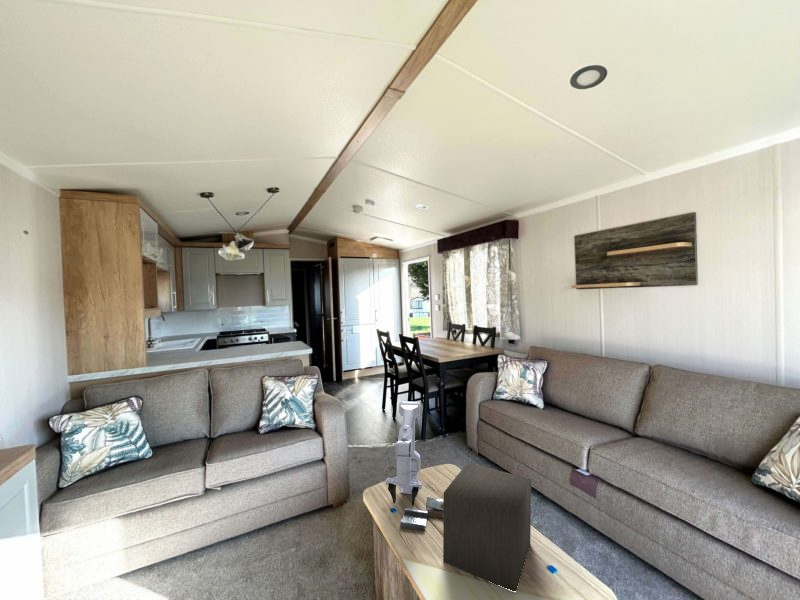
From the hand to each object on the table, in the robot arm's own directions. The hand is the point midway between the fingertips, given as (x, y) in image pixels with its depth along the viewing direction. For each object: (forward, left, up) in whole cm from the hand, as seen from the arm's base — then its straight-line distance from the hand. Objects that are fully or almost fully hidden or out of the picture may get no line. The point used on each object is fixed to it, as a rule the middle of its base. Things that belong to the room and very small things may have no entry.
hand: (403, 503), depth 138 cm
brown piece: (-13, +12, -10) cm, 20 cm away
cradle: (-4, +4, -10) cm, 12 cm away
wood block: (+6, +33, -10) cm, 35 cm away
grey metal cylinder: (-13, +13, -10) cm, 21 cm away
